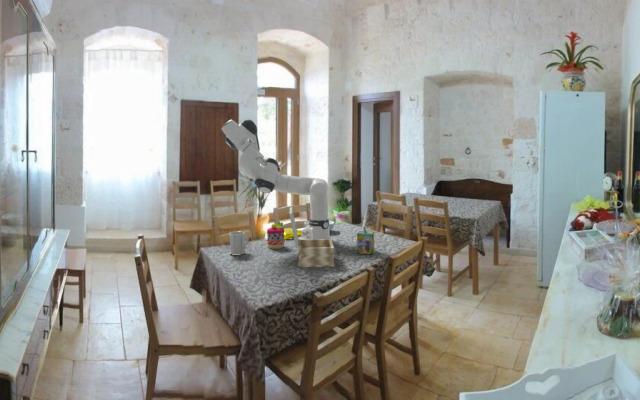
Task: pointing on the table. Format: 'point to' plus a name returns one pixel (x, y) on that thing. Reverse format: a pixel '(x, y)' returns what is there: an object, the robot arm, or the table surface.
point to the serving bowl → (331, 225)
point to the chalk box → (365, 242)
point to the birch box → (315, 253)
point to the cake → (276, 236)
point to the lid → (293, 227)
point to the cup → (238, 242)
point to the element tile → (291, 233)
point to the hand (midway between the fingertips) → (265, 165)
